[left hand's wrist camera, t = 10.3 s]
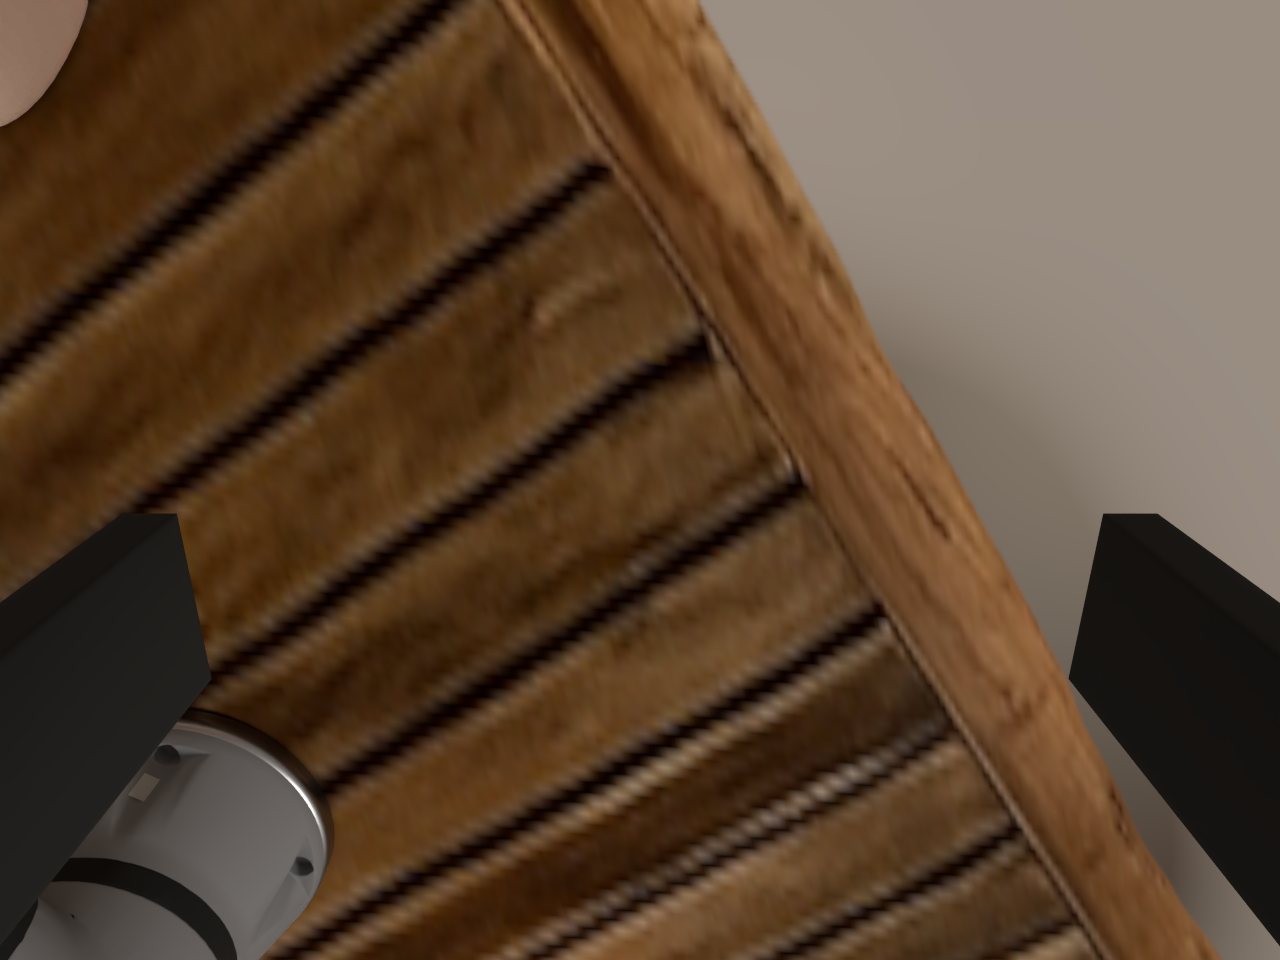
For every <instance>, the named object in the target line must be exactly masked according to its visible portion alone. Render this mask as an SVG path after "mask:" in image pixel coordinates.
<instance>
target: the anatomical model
mask: <svg viewBox="0 0 1280 960" xmlns="http://www.w3.org/2000/svg"><path fill="white" fill-rule="evenodd" d="M87 6H88V0H0V127H1V126H4V125H6V124H8V123H10V122H12V121H14V120H16V119H17V118H19V117H20V116H21V115H23V114H24V113H25V112H26V111H28V110H29V109H30V108H31V107H32V106H33V105H34V104H35V103H36V102H37V101H38V100H39V99H40V98H41V97H42V95H43V94H44V93H45V91H46V90H47V89H48V87H49V86H50V85H51V83H52V82H53V81H54V79H55V77H56V76H57V74H58V72H59V71H60V69H61V67H62V65H63V64H64V62H65V60H66V59H67V57H68V55H69V52H70V50H71V48H72V46H73V44H74V42H75V40H76V38H77V36H78V33H79V31H80V28H81V25H82V23H83V20H84V17H85V14H86V10H87Z"/></svg>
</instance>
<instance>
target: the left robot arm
mask: <svg viewBox="0 0 1280 960" xmlns="http://www.w3.org/2000/svg"><path fill="white" fill-rule="evenodd" d="M210 680H211V674H210V669H209V665H208V660H207V655H206V650H205V646H204V641H203V636H202V631H201V627H200V622H199V617H198V612H197V608H196V603H195V598H194V593H193V589H192V584H191V579H190V574H189V570H188V565H187V560H186V555H185V551H184V546H183V541H182V536H181V532H180V527H179V522H178V517H177V514H121V515H120V516H119V517H117V518H116V519H115V520H113V521H112V522H111V523H109V524H108V525H106V526H105V527H104V528H102V529H101V530H100V531H98V532H97V533H95V534H94V535H93V536H91V537H90V538H89V539H87V540H86V541H84V542H83V543H82V544H80V545H79V546H78V547H76V548H75V549H73V550H72V551H71V552H69V553H68V554H67V555H65V556H64V557H62V558H61V559H60V560H58V561H57V562H56V563H54V564H53V565H52V566H50V567H49V568H47V569H46V570H45V571H43V572H42V573H41V574H39V575H38V576H36V577H35V578H34V579H32V580H31V581H30V582H28V583H27V584H25V585H24V586H23V587H21V588H20V589H19V590H17V591H16V592H14V593H13V594H12V595H10V596H9V597H8V598H6V599H5V600H3V601H2V602H1V603H0V960H258V959H259V958H260V957H261V956H262V955H263V954H264V953H265V952H266V951H267V950H268V949H269V948H270V947H271V946H272V945H273V943H274V942H275V941H276V940H277V939H278V938H279V937H280V936H281V935H282V934H283V933H284V932H285V931H286V930H287V929H288V927H289V926H290V925H291V924H292V923H293V922H294V921H295V920H296V919H297V918H298V917H299V916H300V914H301V913H302V912H303V911H304V909H305V908H306V906H307V905H308V904H309V903H310V901H311V900H312V898H313V897H314V895H315V894H316V892H317V889H318V887H319V885H320V883H321V881H322V878H323V876H324V874H325V871H326V869H327V867H328V864H329V861H330V858H331V855H332V851H333V845H334V826H333V820H332V815H331V811H330V808H329V805H328V802H327V800H326V798H325V796H324V793H323V792H322V790H321V788H320V786H319V785H318V783H317V781H316V780H315V779H314V777H313V776H312V775H311V773H310V772H309V771H308V770H307V769H306V767H305V766H304V765H303V764H302V763H301V762H300V761H299V760H298V759H297V758H296V757H295V756H294V755H293V754H292V753H290V752H289V751H288V750H287V749H285V748H284V747H283V746H282V745H280V744H279V743H277V742H276V741H274V740H273V739H272V738H270V737H268V736H267V735H265V734H263V733H261V732H260V731H258V730H256V729H254V728H251V727H249V726H247V725H245V724H243V723H240V722H237V721H235V720H232V719H229V718H226V717H222V716H219V715H215V714H211V713H206V712H200V711H193V710H187V709H188V708H189V707H190V705H191V704H192V703H193V701H194V700H195V699H196V698H197V696H198V695H199V694H200V693H201V691H202V690H203V689H204V688H205V686H206V685H207V684H208V682H209V681H210ZM1069 680H1070V681H1071V682H1072V684H1073V685H1074V686H1075V688H1076V689H1077V690H1078V691H1079V693H1080V694H1081V695H1082V696H1083V698H1084V699H1085V700H1086V701H1087V703H1088V704H1089V705H1090V706H1091V708H1092V709H1093V710H1094V712H1095V713H1096V714H1097V715H1098V717H1099V718H1100V719H1101V720H1102V722H1103V723H1104V724H1105V726H1106V727H1107V728H1108V729H1109V731H1110V732H1111V733H1112V734H1113V736H1114V737H1115V738H1116V739H1117V741H1118V742H1119V743H1120V744H1121V746H1122V747H1123V748H1124V750H1125V751H1126V752H1127V753H1128V755H1129V756H1130V757H1131V758H1132V760H1133V761H1134V762H1135V763H1136V765H1137V766H1138V767H1139V768H1140V770H1141V771H1142V772H1143V773H1144V775H1145V776H1146V777H1147V779H1148V780H1149V781H1150V782H1151V784H1152V785H1153V786H1154V787H1155V789H1156V790H1157V791H1158V793H1159V794H1160V795H1161V796H1162V798H1163V799H1164V800H1165V801H1166V803H1167V804H1168V805H1169V806H1170V808H1171V809H1172V810H1173V812H1174V813H1175V814H1176V815H1177V817H1178V818H1179V819H1180V820H1181V822H1182V823H1183V824H1184V825H1185V827H1186V828H1187V829H1188V830H1189V832H1190V833H1191V834H1192V836H1193V837H1194V838H1195V839H1196V841H1197V842H1198V843H1199V844H1200V846H1201V847H1202V848H1203V849H1204V851H1205V852H1206V853H1207V854H1208V856H1209V857H1210V858H1211V860H1212V861H1213V862H1214V863H1215V865H1216V866H1217V867H1218V868H1219V870H1220V871H1221V872H1222V873H1223V875H1224V876H1225V877H1226V879H1227V880H1228V881H1229V882H1230V884H1231V885H1232V886H1233V887H1234V889H1235V890H1236V891H1237V892H1238V894H1239V895H1240V896H1241V897H1242V899H1243V900H1244V901H1245V903H1246V904H1247V905H1248V906H1249V908H1250V909H1251V910H1252V911H1253V913H1254V914H1255V915H1256V917H1257V918H1258V919H1259V920H1260V922H1261V923H1262V924H1263V925H1264V927H1265V928H1266V929H1267V930H1268V932H1269V933H1270V934H1271V935H1272V937H1273V938H1274V939H1275V941H1276V942H1277V943H1278V944H1279V946H1280V603H1279V602H1278V601H1276V600H1275V599H1274V598H1272V597H1271V596H1270V595H1268V594H1267V593H1266V592H1264V591H1263V590H1261V589H1260V588H1259V587H1257V586H1256V585H1255V584H1253V583H1252V582H1250V581H1249V580H1248V579H1246V578H1245V577H1243V576H1242V575H1241V574H1239V573H1238V572H1237V571H1235V570H1234V569H1233V568H1231V567H1230V566H1228V565H1227V564H1226V563H1224V562H1223V561H1222V560H1220V559H1219V558H1217V557H1216V556H1215V555H1213V554H1212V553H1211V552H1209V551H1208V550H1207V549H1205V548H1204V547H1202V546H1201V545H1200V544H1198V543H1197V542H1196V541H1194V540H1193V539H1191V538H1190V537H1189V536H1187V535H1186V534H1185V533H1183V532H1182V531H1180V530H1179V529H1178V528H1176V527H1175V526H1174V525H1172V524H1171V523H1169V522H1168V521H1167V520H1165V519H1164V518H1163V517H1161V516H1160V515H1159V514H1103V517H1102V522H1101V527H1100V532H1099V536H1098V541H1097V546H1096V551H1095V555H1094V560H1093V565H1092V570H1091V574H1090V579H1089V584H1088V589H1087V593H1086V598H1085V603H1084V608H1083V613H1082V617H1081V622H1080V627H1079V632H1078V636H1077V641H1076V646H1075V651H1074V655H1073V660H1072V665H1071V669H1070V674H1069Z"/></svg>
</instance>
